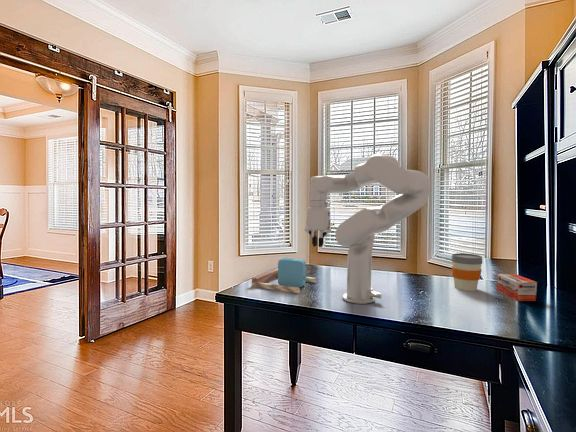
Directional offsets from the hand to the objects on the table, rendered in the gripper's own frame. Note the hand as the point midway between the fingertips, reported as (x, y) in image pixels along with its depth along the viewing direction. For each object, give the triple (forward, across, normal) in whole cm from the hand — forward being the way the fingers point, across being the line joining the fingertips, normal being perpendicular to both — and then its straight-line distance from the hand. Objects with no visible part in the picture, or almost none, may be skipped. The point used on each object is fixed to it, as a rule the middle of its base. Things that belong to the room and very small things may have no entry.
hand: (317, 246), depth 158 cm
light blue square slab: (+19, +12, 0) cm, 23 cm away
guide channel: (+19, +16, 0) cm, 25 cm away
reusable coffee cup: (+19, -60, -32) cm, 70 cm away
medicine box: (+20, -78, -29) cm, 86 cm away
